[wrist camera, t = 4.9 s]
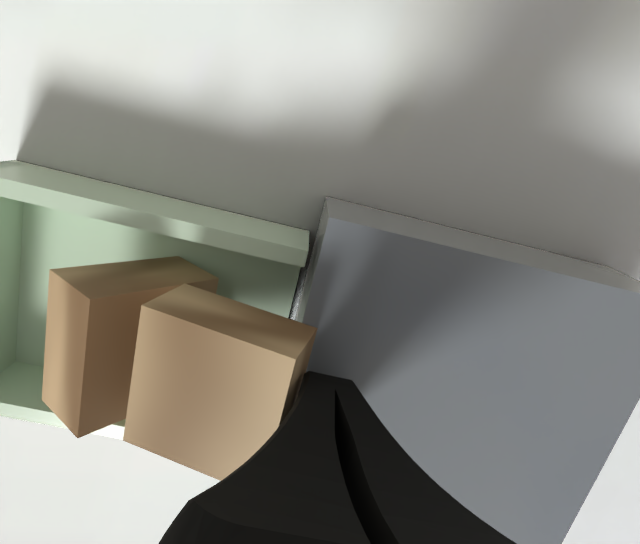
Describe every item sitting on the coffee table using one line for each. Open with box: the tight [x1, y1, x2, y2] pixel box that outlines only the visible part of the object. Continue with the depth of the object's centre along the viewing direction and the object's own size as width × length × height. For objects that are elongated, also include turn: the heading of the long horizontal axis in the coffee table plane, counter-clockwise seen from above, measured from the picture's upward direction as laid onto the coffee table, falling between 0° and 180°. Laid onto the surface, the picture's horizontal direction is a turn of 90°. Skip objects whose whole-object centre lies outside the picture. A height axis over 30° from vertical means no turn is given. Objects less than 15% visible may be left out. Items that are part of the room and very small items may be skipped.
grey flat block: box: [295, 196, 640, 544], centre depth 15 cm, size 10×10×4 cm
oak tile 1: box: [123, 284, 318, 481], centre depth 12 cm, size 4×4×2 cm
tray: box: [0, 160, 309, 440], centre depth 15 cm, size 10×8×2 cm
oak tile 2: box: [42, 256, 219, 438], centre depth 13 cm, size 4×4×2 cm
